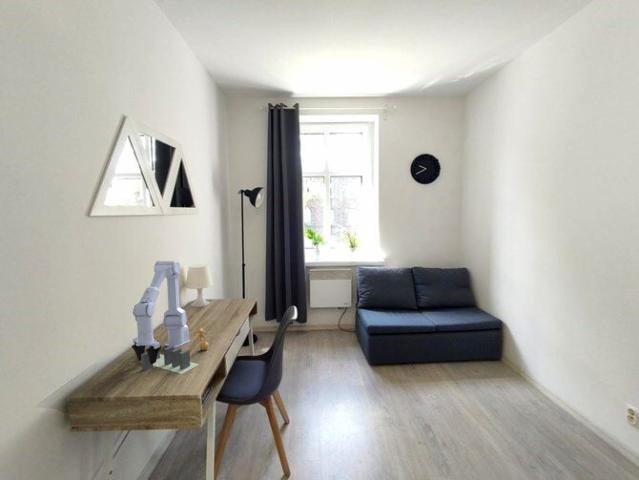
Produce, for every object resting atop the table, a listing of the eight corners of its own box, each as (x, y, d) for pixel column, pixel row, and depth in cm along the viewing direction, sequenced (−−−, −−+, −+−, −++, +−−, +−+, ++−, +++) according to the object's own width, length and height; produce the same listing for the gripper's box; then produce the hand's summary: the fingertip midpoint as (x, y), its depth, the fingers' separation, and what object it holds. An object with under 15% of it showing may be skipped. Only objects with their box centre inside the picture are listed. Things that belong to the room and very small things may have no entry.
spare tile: (142, 370, 131) (141, 354, 131) (150, 366, 135) (149, 350, 134) (144, 371, 130) (143, 355, 130) (153, 367, 134) (152, 351, 133)
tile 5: (179, 369, 131) (179, 353, 131) (187, 365, 135) (186, 349, 134) (182, 369, 130) (182, 353, 130) (190, 365, 134) (189, 350, 133)
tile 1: (149, 360, 140) (149, 345, 139) (157, 357, 143) (156, 342, 142) (152, 361, 139) (151, 346, 138) (160, 357, 142) (159, 342, 142)
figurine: (214, 348, 152) (213, 324, 151) (208, 353, 146) (207, 329, 145) (198, 347, 153) (197, 324, 152) (192, 353, 147) (190, 328, 146)
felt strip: (158, 354, 146) (158, 353, 146) (198, 364, 135) (198, 364, 135) (140, 362, 138) (140, 361, 138) (181, 374, 127) (181, 373, 127)
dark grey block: (172, 366, 133) (171, 351, 133) (179, 362, 137) (178, 347, 136) (174, 367, 133) (174, 351, 132) (182, 363, 136) (181, 348, 135)
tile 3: (164, 364, 135) (163, 349, 135) (171, 360, 139) (171, 345, 138) (167, 365, 135) (166, 349, 134) (174, 361, 138) (173, 346, 137)
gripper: (125, 331, 131) (127, 362, 132) (147, 336, 124) (149, 369, 125) (141, 325, 137) (142, 355, 138) (163, 330, 131) (165, 361, 132)
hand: (147, 361), depth 132 cm, fingers open, 7 cm apart
